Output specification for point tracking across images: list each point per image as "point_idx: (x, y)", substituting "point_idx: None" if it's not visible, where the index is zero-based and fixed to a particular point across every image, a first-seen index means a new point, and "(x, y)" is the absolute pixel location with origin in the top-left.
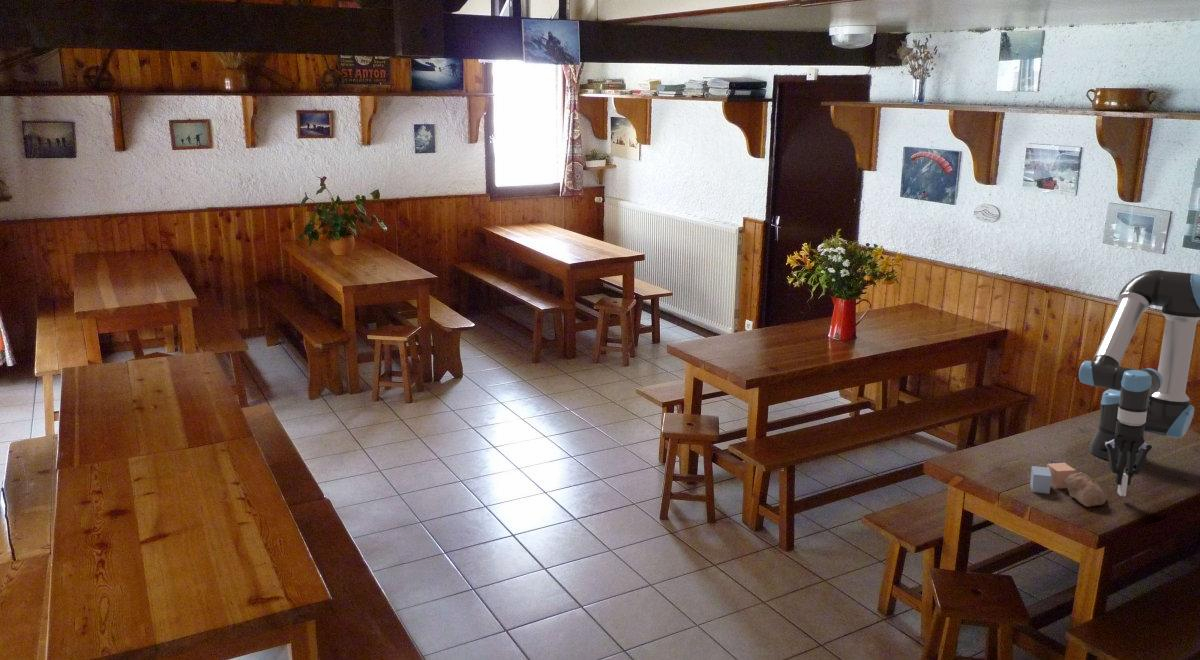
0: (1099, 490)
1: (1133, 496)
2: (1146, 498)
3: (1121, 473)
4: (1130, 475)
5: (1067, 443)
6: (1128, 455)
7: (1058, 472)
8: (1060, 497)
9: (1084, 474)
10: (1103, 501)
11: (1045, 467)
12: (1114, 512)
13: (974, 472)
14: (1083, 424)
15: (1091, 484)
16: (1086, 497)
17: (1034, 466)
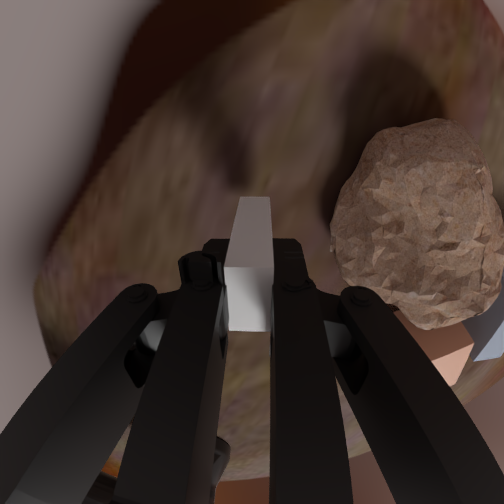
0: (439, 156)
1: None
2: (135, 248)
3: (294, 286)
4: (207, 260)
5: (261, 460)
6: (203, 498)
7: (468, 340)
8: None
9: (467, 301)
10: (387, 128)
11: (480, 359)
12: (336, 72)
13: None
14: None
15: (481, 196)
16: (473, 137)
17: (497, 356)
